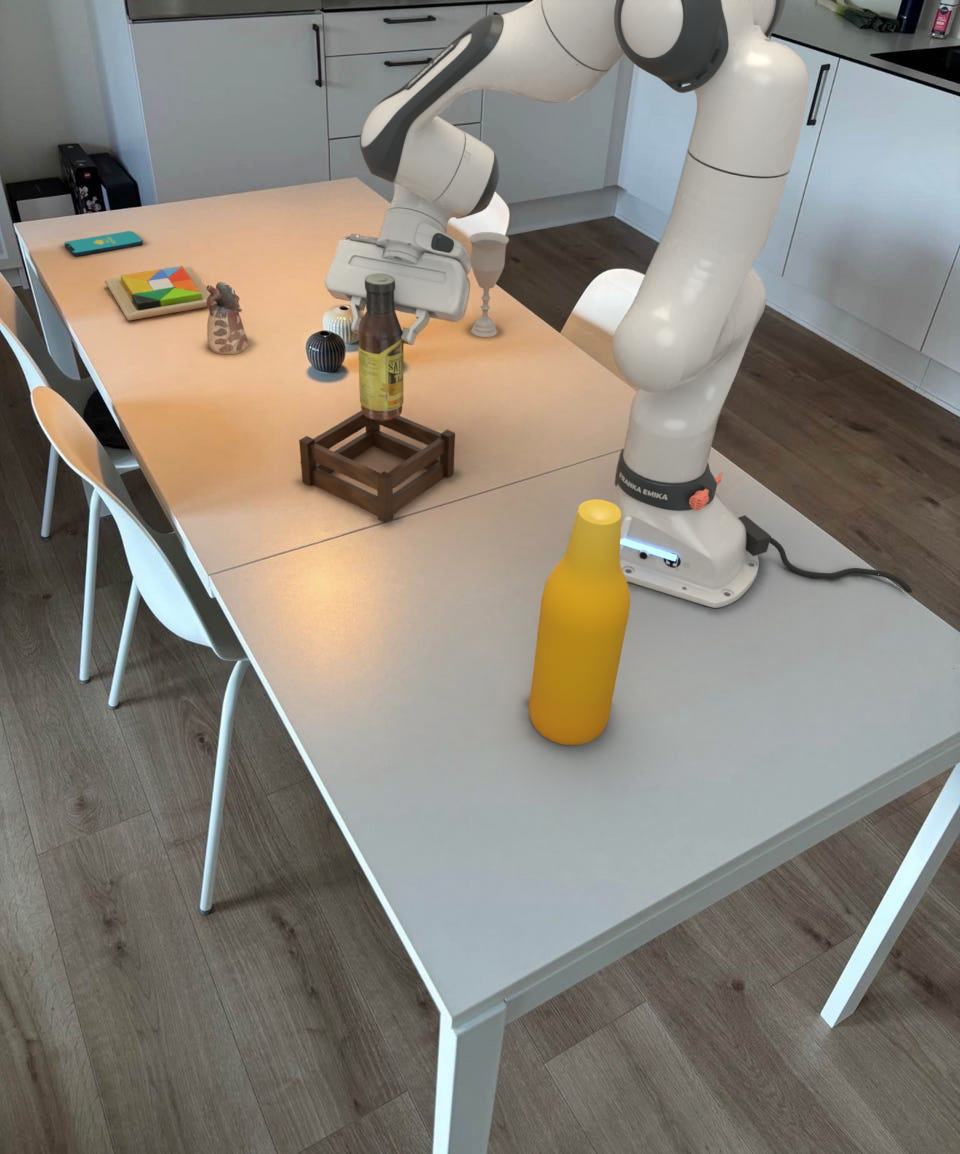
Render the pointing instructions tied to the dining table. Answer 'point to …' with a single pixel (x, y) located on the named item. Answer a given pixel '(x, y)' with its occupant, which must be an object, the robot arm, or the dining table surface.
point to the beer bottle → (581, 630)
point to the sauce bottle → (380, 352)
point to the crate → (386, 503)
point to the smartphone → (103, 243)
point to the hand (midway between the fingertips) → (382, 337)
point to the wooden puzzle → (159, 292)
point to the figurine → (225, 321)
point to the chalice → (487, 273)
